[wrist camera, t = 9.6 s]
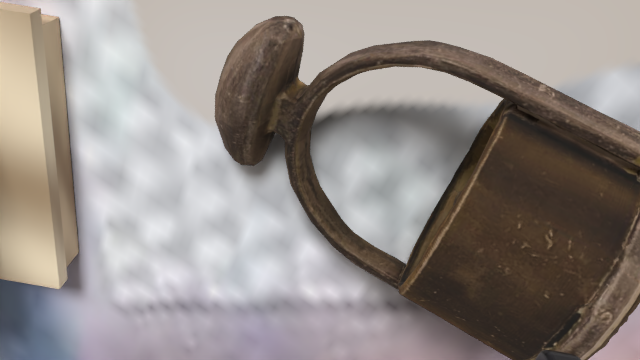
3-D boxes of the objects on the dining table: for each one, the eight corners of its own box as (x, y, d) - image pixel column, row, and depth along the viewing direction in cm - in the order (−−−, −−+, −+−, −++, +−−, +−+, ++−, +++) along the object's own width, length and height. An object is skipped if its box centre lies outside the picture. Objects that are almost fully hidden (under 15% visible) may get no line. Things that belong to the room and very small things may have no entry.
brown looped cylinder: (459, 465, 19) (823, 366, 13) (94, 252, 14) (380, -49, 8) (460, 282, 24) (718, 150, 18) (192, 86, 20) (411, -174, 14)
